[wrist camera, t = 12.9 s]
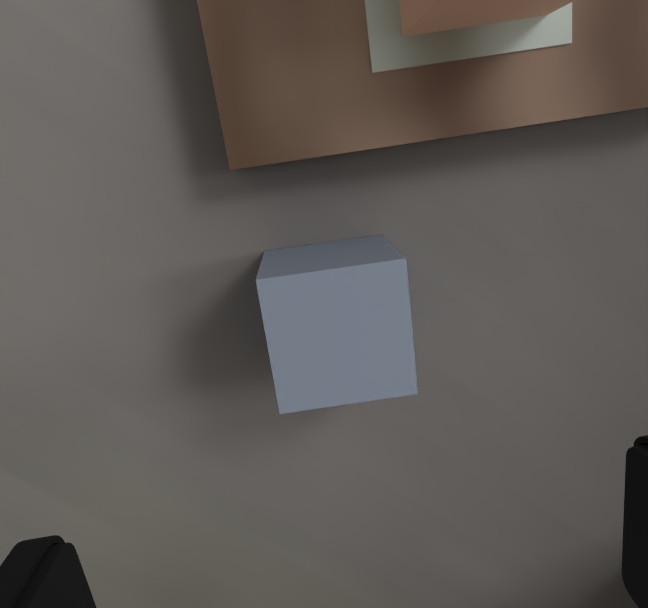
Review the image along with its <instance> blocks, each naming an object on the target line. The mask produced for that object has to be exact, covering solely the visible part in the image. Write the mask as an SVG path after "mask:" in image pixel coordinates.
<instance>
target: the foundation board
mask: <svg viewBox="0 0 648 608" xmlns="http://www.w3.org/2000/svg"><path fill="white" fill-rule="evenodd" d="M197 5H198V10H199V15H200V21H201V26H202V31H203V36H204V41H205V46H206V52H207V57H208V62H209V67H210V72H211V77H212V82H213V88H214V93H215V98H216V103H217V108H218V113H219V119H220V124H221V129H222V134H223V139H224V144H225V149H226V155H227V160H228V165H229V170H236V169H242V168H249V167H256V166H262V165H269V164H276V163H282V162H289V161H296V160H302V159H309V158H315V157H322V156H329V155H335V154H342V153H349V152H355V151H362V150H368V149H375V148H382V147H388V146H395V145H402V144H408V143H415V142H422V141H428V140H435V139H441V138H448V137H455V136H461V135H468V134H475V133H481V132H488V131H495V130H501V129H508V128H514V127H521V126H528V125H534V124H541V123H548V122H554V121H561V120H568V119H574V118H581V117H587V116H594V115H601V114H607V113H614V112H621V111H627V110H634V109H641V108H647V107H648V0H575V1H573V2H571V3H569V4H567V5H565V6H563V7H562V8H560V9H558V10H556V11H554V12H552V13H550V14H548V15H545V16H538V17H531V18H525V19H518V20H511V21H505V22H498V23H492V24H485V25H478V26H472V27H465V28H458V29H452V30H445V31H438V32H432V33H425V34H419V35H412V36H405V37H402V27H401V16H400V5H399V0H197Z"/></svg>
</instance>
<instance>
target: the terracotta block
mask: <svg viewBox="0 0 648 608" xmlns="http://www.w3.org/2000/svg"><path fill="white" fill-rule="evenodd" d="M573 1H575V0H399V5H400V16H401V27H402V37H405V36H412V35H419V34H425V33H432V32H438V31H445V30H452V29H458V28H465V27H472V26H478V25H485V24H492V23H498V22H505V21H511V20H518V19H525V18H531V17H538V16H545V15H548V14H550V13H552V12H554V11H556V10H558V9H560V8H562V7H563V6H565V5H567V4H569V3H571V2H573Z"/></svg>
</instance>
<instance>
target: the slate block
mask: <svg viewBox="0 0 648 608" xmlns="http://www.w3.org/2000/svg"><path fill="white" fill-rule="evenodd" d="M256 285H257V291H258V296H259V302H260V307H261V313H262V319H263V324H264V330H265V335H266V341H267V346H268V352H269V357H270V363H271V369H272V374H273V380H274V385H275V391H276V396H277V402H278V408H279V413H280V414H285V413H292V412H298V411H305V410H312V409H319V408H326V407H333V406H339V405H346V404H353V403H360V402H367V401H374V400H381V399H387V398H394V397H401V396H408V395H415V394H418V389H417V377H416V366H415V354H414V342H413V331H412V319H411V307H410V295H409V284H408V272H407V260H406V258H405V257H404V256H403V255H402V254H401V253H400V252H399V251H398V250H397V249H396V248H395V247H394V246H393V245H392V244H391V243H390V242H389V241H388V240H387V239H386V238H385V237H384V236H383V235H382V234H381V235H374V236H367V237H359V238H352V239H345V240H338V241H331V242H324V243H317V244H310V245H303V246H296V247H289V248H282V249H275V250H268V251H264V254H263V257H262V261H261V264H260V267H259V270H258V274H257V277H256Z"/></svg>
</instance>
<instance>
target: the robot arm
mask: <svg viewBox="0 0 648 608" xmlns="http://www.w3.org/2000/svg"><path fill="white" fill-rule="evenodd" d="M622 578H623V582H624V584H625V587H626V589H627V591H628V593H629V595H630V596H631V598H632V599H633V600H634V602H635V603H636V604H637V605H638V607H639V608H648V435H647V436H641V437H639V438H637V439H636V440H635V442H634V446H633V447H631V448H629V449H628V451H627V454H626V472H625V499H624V525H623V551H622ZM0 608H96V605H95V603H94V600H93V597H92V594H91V591H90V589H89V586H88V583H87V580H86V577H85V575H84V572H83V569H82V566H81V563H80V561H79V558H78V555H77V552H76V549H75V547H74V545H72V544H71V543H65V542H64V540H63V539H62V538H61V537H60V536H56V535H54V536H48V537H42V538H36V539H30V540H25V541H21V542H19V543H17V544H16V545H15V547H14V548H13V549H12V550H11V552H10V553H9V555H8V556H7V557H6V559H5V560H4V562H3V563H2V565H1V566H0Z"/></svg>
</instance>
